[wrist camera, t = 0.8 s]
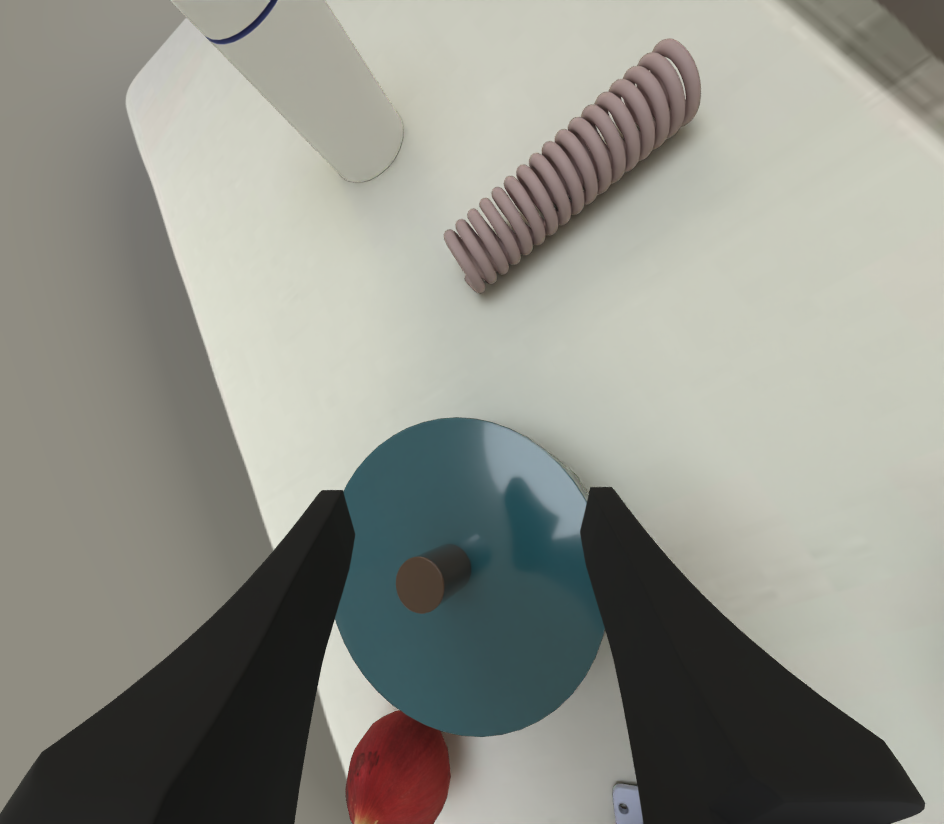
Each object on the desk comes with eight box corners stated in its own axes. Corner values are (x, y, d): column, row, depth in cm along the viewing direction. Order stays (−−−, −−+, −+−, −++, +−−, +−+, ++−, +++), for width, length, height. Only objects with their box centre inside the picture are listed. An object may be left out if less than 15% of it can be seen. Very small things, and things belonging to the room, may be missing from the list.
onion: (383, 759, 28) (296, 864, 21) (398, 673, 28) (318, 746, 21) (460, 801, 26) (394, 934, 18) (476, 707, 26) (417, 800, 19)
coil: (463, 283, 26) (726, 63, 22) (424, 229, 27) (669, 10, 23) (483, 305, 30) (704, 125, 26) (449, 258, 31) (657, 79, 27)
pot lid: (633, 743, 18) (636, 825, 14) (342, 707, 23) (281, 759, 19) (587, 400, 21) (577, 383, 17) (335, 436, 26) (279, 430, 22)
